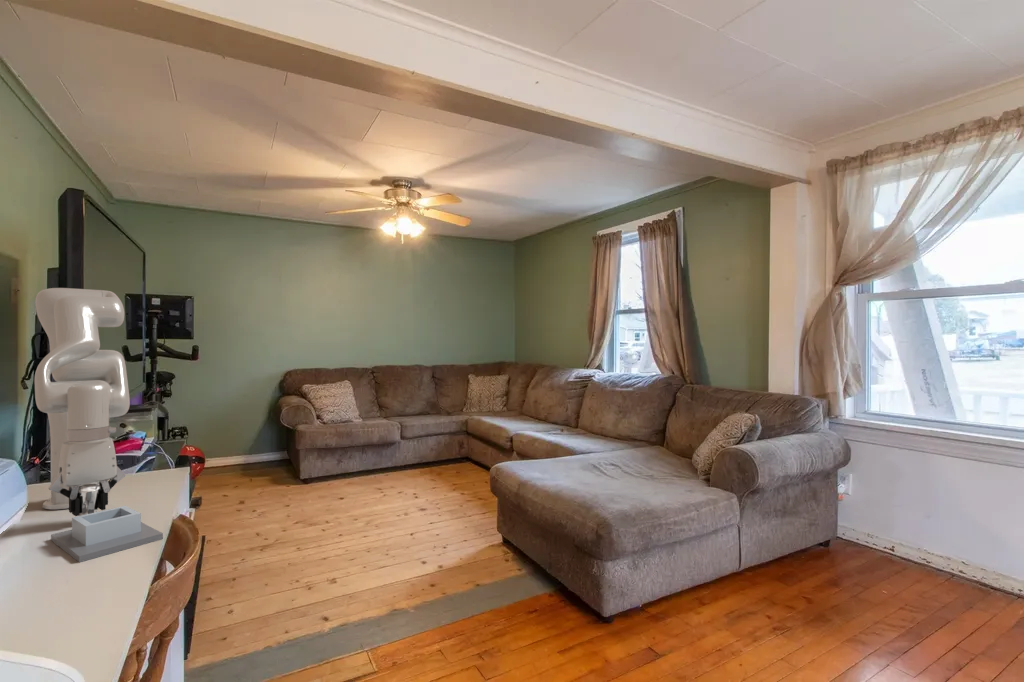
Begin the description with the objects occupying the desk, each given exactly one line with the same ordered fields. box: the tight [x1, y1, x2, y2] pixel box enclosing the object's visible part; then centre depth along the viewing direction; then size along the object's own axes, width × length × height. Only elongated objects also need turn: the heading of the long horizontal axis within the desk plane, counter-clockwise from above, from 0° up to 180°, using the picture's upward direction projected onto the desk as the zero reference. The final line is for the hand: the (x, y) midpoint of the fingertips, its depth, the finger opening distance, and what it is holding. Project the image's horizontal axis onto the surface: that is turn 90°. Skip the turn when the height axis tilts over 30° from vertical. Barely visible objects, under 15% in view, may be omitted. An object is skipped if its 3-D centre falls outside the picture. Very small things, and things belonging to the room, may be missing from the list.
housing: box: [50, 505, 164, 563], centre depth 107 cm, size 20×14×5 cm
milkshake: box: [77, 481, 101, 516], centre depth 117 cm, size 5×5×10 cm
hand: (88, 511), depth 117 cm, fingers closed on milkshake, 4 cm apart
